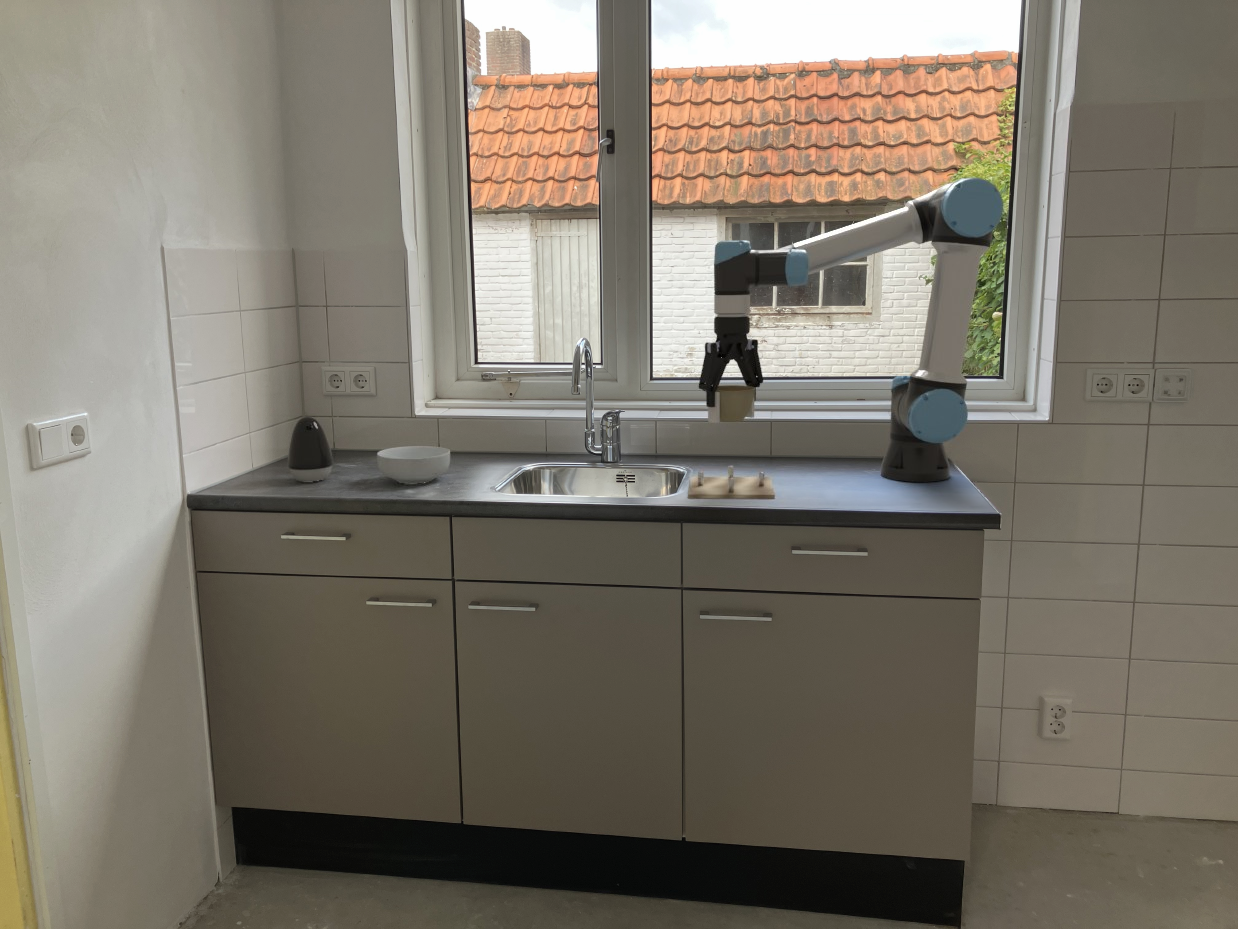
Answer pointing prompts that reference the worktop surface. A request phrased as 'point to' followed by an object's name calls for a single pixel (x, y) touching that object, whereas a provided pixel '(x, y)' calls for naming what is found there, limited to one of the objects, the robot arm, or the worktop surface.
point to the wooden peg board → (731, 486)
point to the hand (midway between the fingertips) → (731, 419)
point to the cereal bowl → (413, 463)
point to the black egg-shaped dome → (309, 451)
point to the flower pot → (735, 402)
